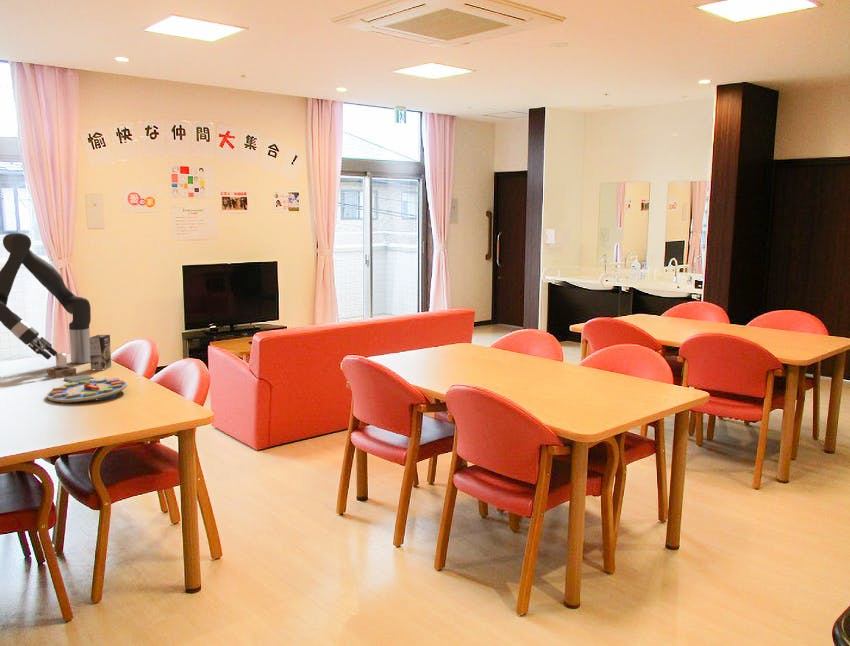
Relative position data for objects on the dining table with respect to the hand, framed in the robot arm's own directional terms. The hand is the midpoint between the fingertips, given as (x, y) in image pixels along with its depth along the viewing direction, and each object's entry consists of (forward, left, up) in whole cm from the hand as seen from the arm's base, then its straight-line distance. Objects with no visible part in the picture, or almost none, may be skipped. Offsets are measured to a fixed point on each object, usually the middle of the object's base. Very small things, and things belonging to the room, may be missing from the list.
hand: (52, 356), depth 336 cm
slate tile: (-3, +18, -9) cm, 20 cm away
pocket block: (-3, +2, -9) cm, 9 cm away
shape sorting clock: (+8, +48, -9) cm, 50 cm away
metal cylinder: (-3, +2, -9) cm, 10 cm away
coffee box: (-22, +2, -9) cm, 24 cm away
